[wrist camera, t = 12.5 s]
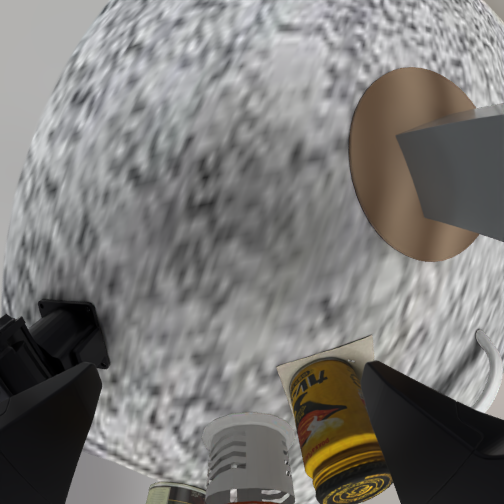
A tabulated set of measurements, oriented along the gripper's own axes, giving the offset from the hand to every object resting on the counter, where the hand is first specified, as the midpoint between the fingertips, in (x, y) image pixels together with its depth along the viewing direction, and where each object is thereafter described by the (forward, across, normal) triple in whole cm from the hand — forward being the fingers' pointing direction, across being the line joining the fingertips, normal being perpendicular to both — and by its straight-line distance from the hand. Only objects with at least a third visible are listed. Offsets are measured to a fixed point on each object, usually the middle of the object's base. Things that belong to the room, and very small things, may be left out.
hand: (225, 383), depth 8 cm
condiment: (+12, -8, +11) cm, 18 cm away
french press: (+12, 0, +20) cm, 23 cm away
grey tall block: (+11, -16, -8) cm, 21 cm away
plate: (+12, -16, -8) cm, 21 cm away
